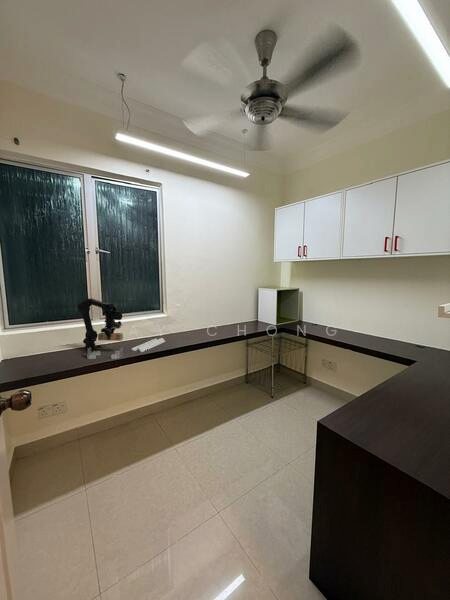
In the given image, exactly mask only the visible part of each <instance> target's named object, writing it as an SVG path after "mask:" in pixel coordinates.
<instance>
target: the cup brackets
mask: <svg viewBox="0 0 450 600" xmlns="http://www.w3.org/2000/svg"><path fill="white" fill-rule="evenodd" d="M123 348H124V347H122V346H121V347H119V350H115V351H114V353H113V354H111V355H110V357H111V359H112V360H113V359H116V360H117V359H120V358H122V357H123V356H124V351H123V350H124V349H123ZM97 356H101V350H91V347H89V348H88V350H87V359H89V360H92V359H95V360H96V359H97Z"/></svg>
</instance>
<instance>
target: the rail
mask: <svg viewBox="0 0 450 600" xmlns="http://www.w3.org/2000/svg"><path fill="white" fill-rule="evenodd" d="M97 335H98V336H97V341H116V342H117V341H123V340H124V333H123V332H114V333H111V336H110V339H108V337H107V336H106V334H105V333H104V332H100V333H97Z"/></svg>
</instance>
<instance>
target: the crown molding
mask: <svg viewBox="0 0 450 600" xmlns="http://www.w3.org/2000/svg"><path fill="white" fill-rule="evenodd" d="M165 342H166V340H165V339H164V338H163V337H160V338H158V339H157V338H153V339H151V340H149V341H147V342H146V341H145V342H144V343H142V344H139V345H137V346H135V347H132V348H131V349H130V351H134V352H140V353H143V352H145V350H146V351H148V350H149V349H152V348H155V347H156V346H159V345H161V344H163V343H165ZM147 349H148V350H147Z"/></svg>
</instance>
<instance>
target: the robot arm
mask: <svg viewBox="0 0 450 600" xmlns="http://www.w3.org/2000/svg"><path fill="white" fill-rule="evenodd" d="M91 306H95V307H98V308H101V310H102V311H103V312H102V314H104V319H105V320H104V323H105V326H104V327H102V328H101V329H100V333H105V334H106V336H107V337H108V339H110V336H111V333H115V331H116V329H117V330H118V329H121V328H122V327H121V326H122V324H123V323H122V321H120V320H122V318H123V314H122V313H121V311H120V310H117V308H116V307H115V305H114V303H112V302H103V301H101V300H98V299H95V298H87V299H85V300H83V301H82V302H80V303H78V304H77V309H78V312H79V313H80V314H81V315H82V319H83V320H82V321H83V322H84V326H85V330H86V331H85V333H84V334H85V338H84V339H83V340H82V342H83V344H84V345H85V346H84V347H85V349H84V351H88V348H89V347H91V351H95V349H96V348H97V347H96V342H97V341H98V332H97V330H94V327H93V324H92V320H91V317H90V316H91V315H90V311H91Z"/></svg>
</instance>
